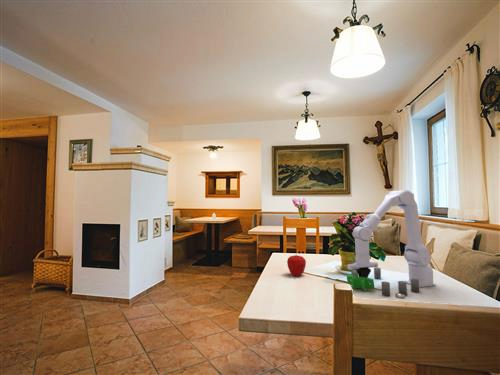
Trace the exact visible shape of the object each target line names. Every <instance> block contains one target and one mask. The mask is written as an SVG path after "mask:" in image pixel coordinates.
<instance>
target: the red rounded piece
mask: <svg viewBox="0 0 500 375" xmlns="http://www.w3.org/2000/svg"><path fill="white" fill-rule="evenodd" d="M286 263H287V264H286V265H287V267H288V270H289V272H290V274H291V275H292V276H294V277H300V276H301V275H303V274H304V273H305V269H306V264H307V261H306V259H305V258H304V257H303V256H302V255H297V254H295V255H290V256H289V257H288V258H287V260H286Z"/></svg>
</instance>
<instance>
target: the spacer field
mask: <svg viewBox="0 0 500 375" xmlns="http://www.w3.org/2000/svg"><path fill="white" fill-rule="evenodd" d="M381 270H382V269H381V267H373V277H374V278H373V280H382V271H381ZM350 271H351V272H350V275H354V276H359V275H358V273H357V271H356V269H352V270H350ZM405 281H406V280H405ZM405 281H404V280H398V281H397V284H398V286H397V288H398V293H403V294H404V296H405V297H406V296H408V288H407V287H408V286H407V284H408V283H407V282H405ZM380 283H381V284H380V285H381V295H382V296H383V297H390V296H391V284H390V282H389V281H381V282H380ZM410 291H411V292H412V293H415V294H419V293H420V291H421V290H420V287H419V280H418V279H411V284H410Z"/></svg>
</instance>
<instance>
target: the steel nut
mask: <svg viewBox="0 0 500 375" xmlns="http://www.w3.org/2000/svg"><path fill="white" fill-rule="evenodd" d="M394 294H395V298H397V299H405V297H406V296H404V294H403V293H399V292H395V293H394Z"/></svg>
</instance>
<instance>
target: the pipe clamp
mask: <svg viewBox="0 0 500 375" xmlns="http://www.w3.org/2000/svg"><path fill="white" fill-rule="evenodd" d="M346 280H347V281H346V282H347V285H348V284H350V285H349V286H351V288H353V289H352V290H355V289H362V291H363V292H366V290H367V289H369V290H375V288H376V287H375V282H374V280H375V279H374V278H370V277H368V278H365V277H359V275H358V276H354V275H351V274H346Z"/></svg>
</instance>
